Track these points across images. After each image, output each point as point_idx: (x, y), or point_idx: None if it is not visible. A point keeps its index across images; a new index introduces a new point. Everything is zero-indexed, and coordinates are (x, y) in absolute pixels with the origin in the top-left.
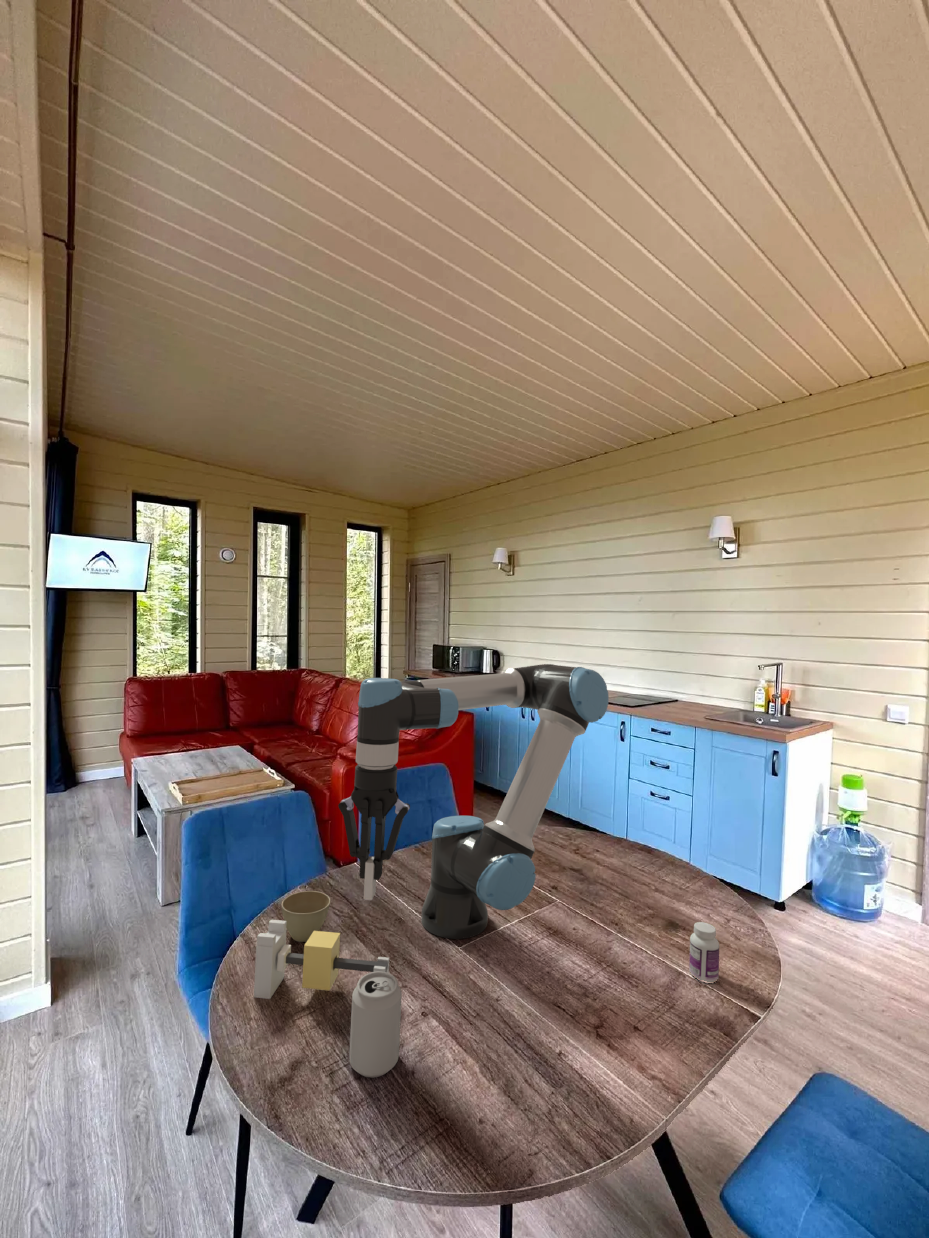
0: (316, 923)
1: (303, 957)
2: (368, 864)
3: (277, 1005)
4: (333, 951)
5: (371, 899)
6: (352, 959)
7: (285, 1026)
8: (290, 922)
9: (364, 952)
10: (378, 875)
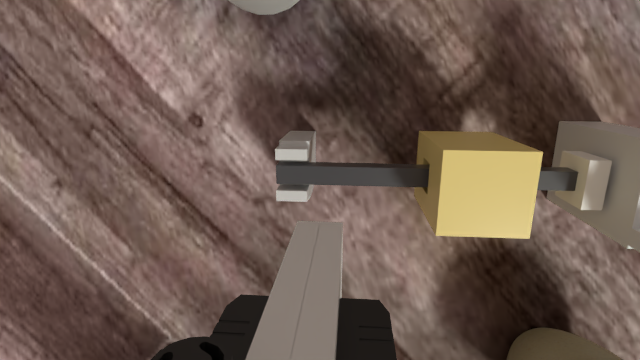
0: (524, 357)
1: None
2: (300, 356)
3: (534, 101)
4: (436, 165)
5: (298, 222)
6: (377, 184)
7: (494, 35)
8: (602, 348)
9: None
10: (237, 313)
